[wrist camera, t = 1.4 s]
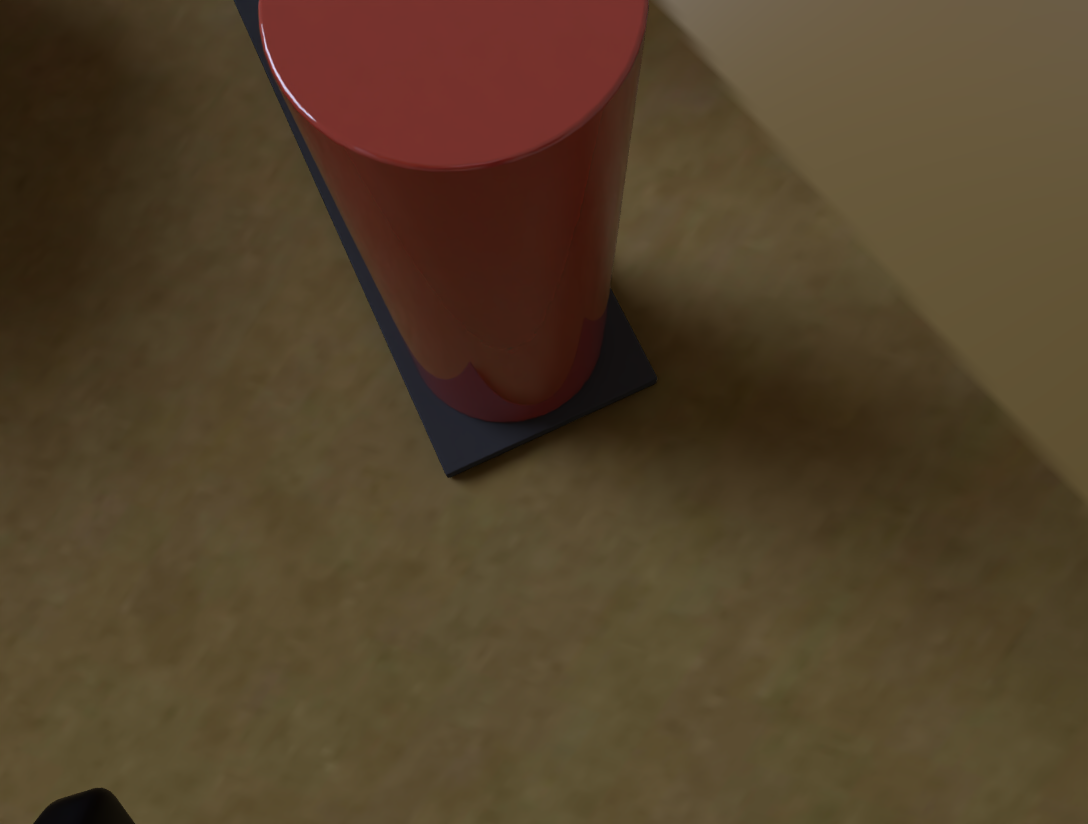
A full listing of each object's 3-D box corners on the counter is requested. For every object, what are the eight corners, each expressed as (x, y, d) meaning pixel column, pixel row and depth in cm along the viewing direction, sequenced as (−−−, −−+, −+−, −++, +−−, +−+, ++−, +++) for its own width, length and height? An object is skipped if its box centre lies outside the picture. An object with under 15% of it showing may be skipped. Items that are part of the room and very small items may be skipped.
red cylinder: (644, 337, 23) (731, 7, 11) (494, 463, 22) (423, 248, 11) (516, 203, 24) (476, -228, 12) (369, 320, 23) (177, -22, 12)
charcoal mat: (657, 383, 23) (658, 378, 23) (448, 479, 22) (446, 475, 22) (365, -177, 28) (361, -189, 27) (185, -108, 27) (180, -120, 27)
